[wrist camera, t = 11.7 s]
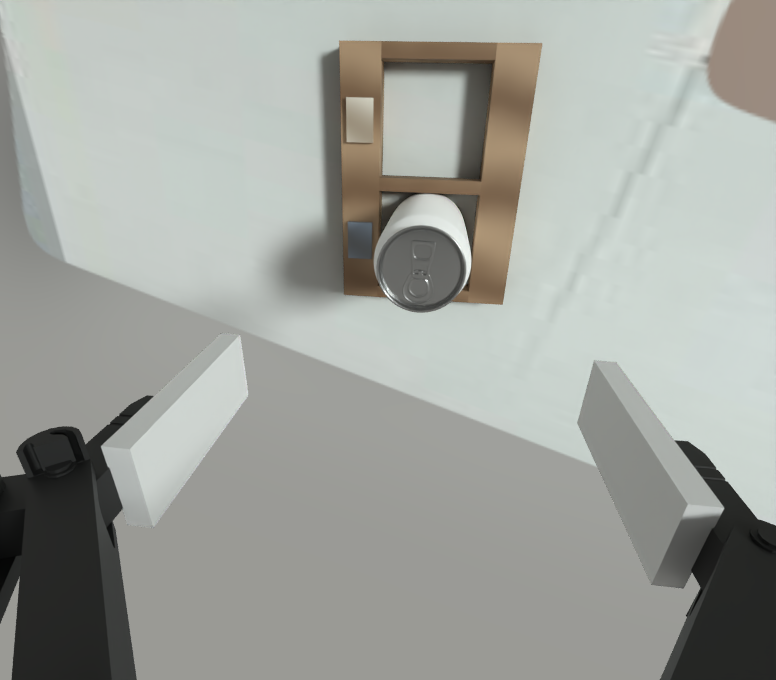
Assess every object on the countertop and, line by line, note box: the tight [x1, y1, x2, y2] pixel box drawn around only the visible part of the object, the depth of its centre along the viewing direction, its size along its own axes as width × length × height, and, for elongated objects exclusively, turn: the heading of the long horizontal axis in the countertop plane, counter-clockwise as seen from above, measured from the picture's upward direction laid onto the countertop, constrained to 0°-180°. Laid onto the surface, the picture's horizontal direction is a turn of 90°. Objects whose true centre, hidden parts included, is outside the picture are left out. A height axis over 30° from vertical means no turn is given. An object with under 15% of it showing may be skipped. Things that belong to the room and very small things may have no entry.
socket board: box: [339, 41, 542, 305], centre depth 35 cm, size 19×14×2 cm
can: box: [374, 193, 471, 313], centre depth 32 cm, size 6×6×12 cm
